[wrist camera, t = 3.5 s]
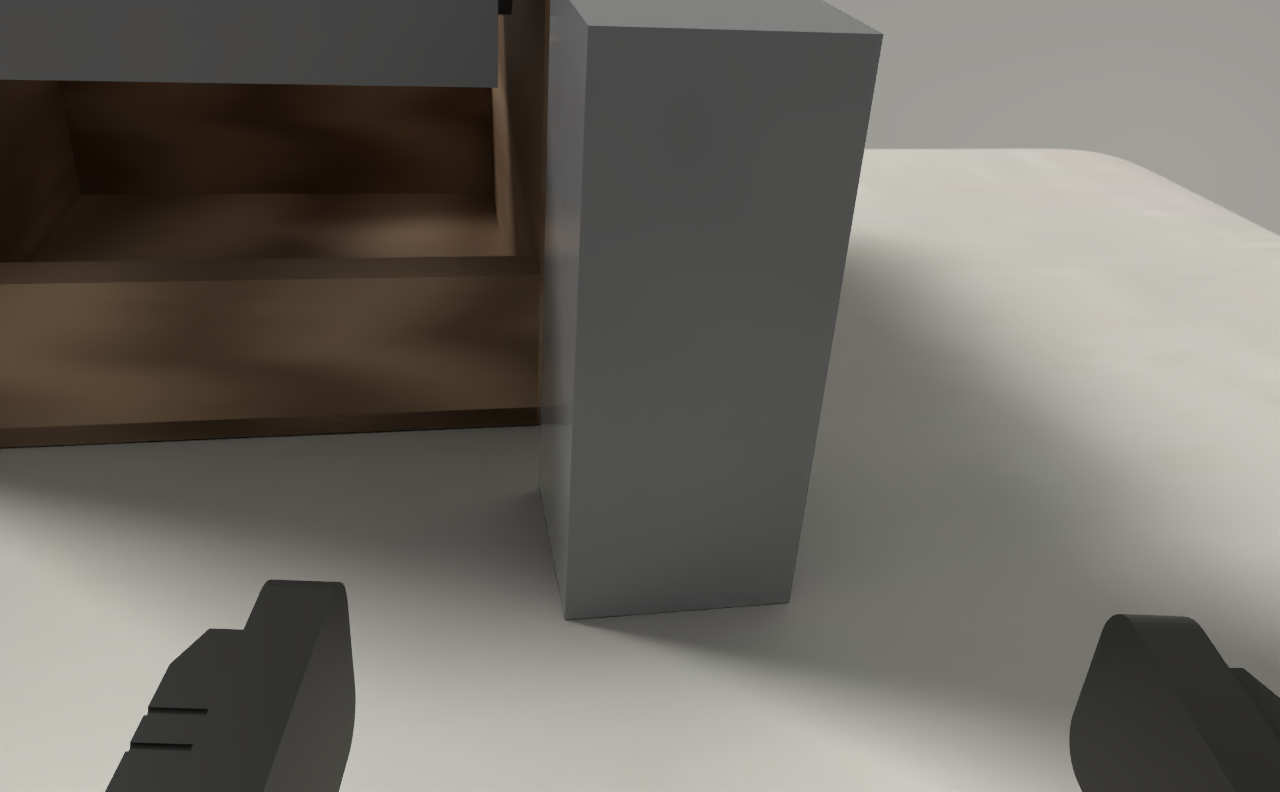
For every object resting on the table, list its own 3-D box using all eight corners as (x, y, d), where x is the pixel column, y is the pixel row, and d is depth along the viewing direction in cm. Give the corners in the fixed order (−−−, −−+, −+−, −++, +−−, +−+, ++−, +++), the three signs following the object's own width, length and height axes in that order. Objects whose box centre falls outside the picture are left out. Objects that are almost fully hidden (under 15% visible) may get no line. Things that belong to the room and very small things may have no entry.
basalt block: (730, 477, 26) (792, -17, 20) (788, 602, 22) (883, 33, 17) (539, 488, 25) (550, -26, 20) (564, 619, 21) (587, 25, 16)
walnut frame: (520, 195, 42) (523, -122, 37) (584, 422, 27) (605, -47, 22) (55, 196, 39) (-17, -151, 33) (-150, 454, 24) (-333, -86, 19)
